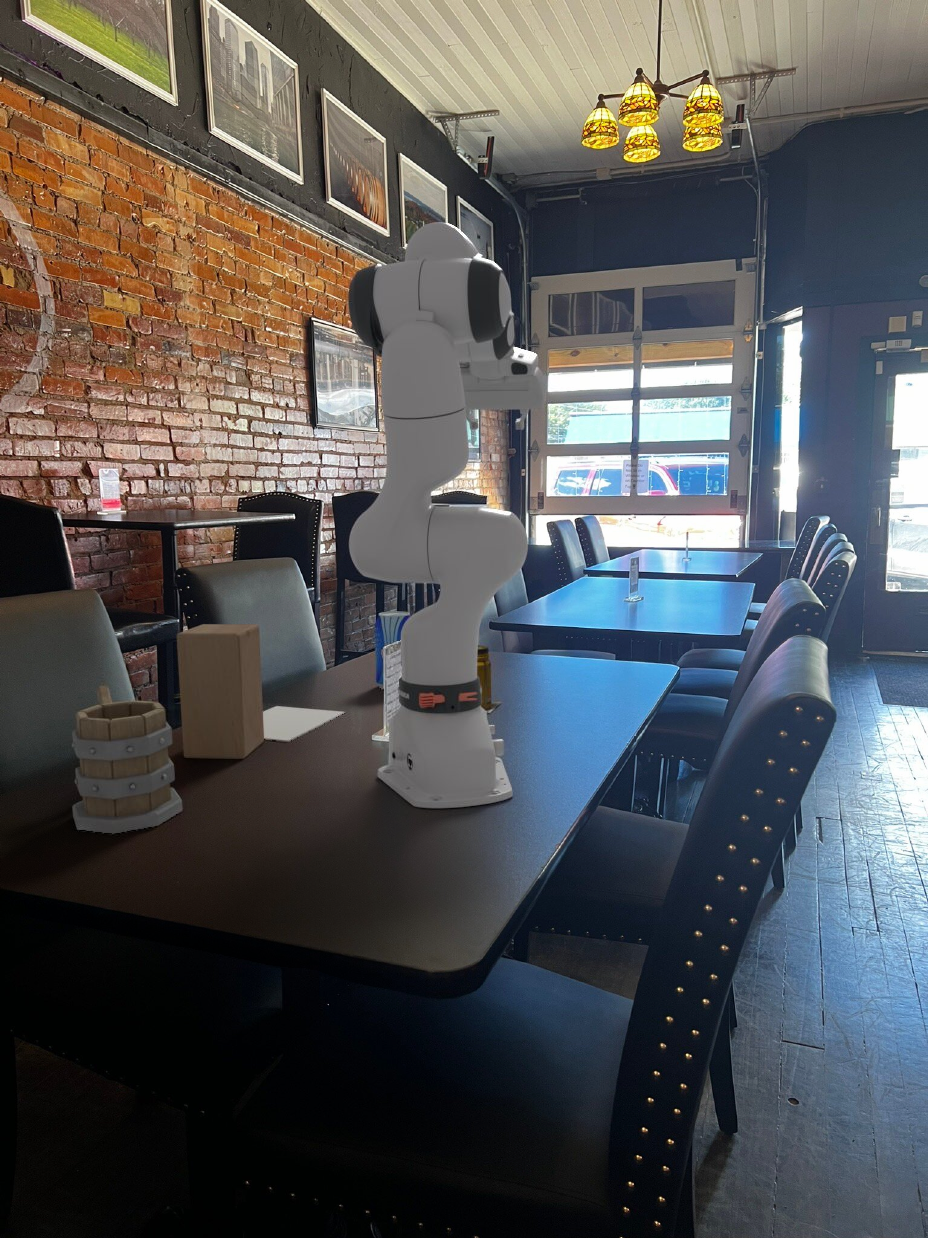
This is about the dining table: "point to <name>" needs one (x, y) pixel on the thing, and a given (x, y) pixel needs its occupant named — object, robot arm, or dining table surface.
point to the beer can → (387, 636)
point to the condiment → (485, 678)
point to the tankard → (123, 766)
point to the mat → (293, 722)
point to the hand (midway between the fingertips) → (497, 428)
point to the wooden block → (220, 690)
